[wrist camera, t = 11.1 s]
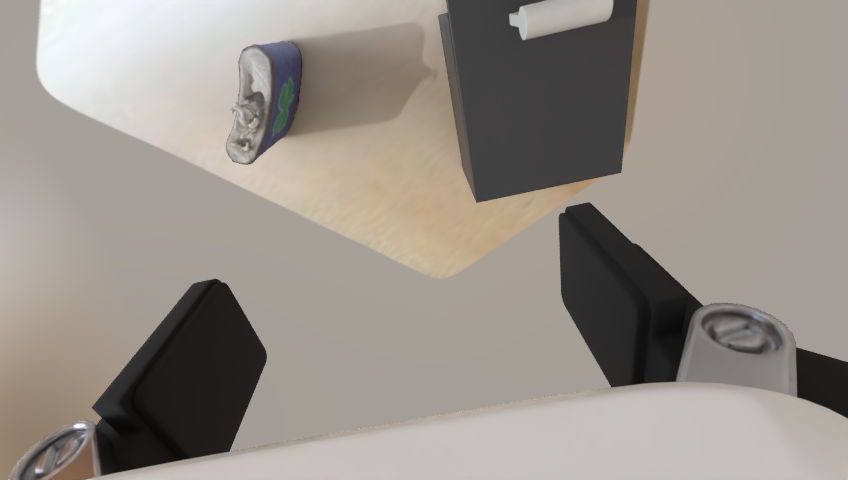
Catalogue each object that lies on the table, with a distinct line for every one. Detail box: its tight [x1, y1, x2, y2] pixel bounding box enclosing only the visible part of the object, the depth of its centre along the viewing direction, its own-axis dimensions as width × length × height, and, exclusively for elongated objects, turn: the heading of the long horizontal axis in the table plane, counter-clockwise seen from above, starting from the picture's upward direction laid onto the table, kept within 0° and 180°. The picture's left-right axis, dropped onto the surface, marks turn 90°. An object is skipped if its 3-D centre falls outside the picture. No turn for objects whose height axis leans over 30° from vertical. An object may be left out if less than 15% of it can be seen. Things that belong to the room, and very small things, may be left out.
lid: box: [446, 0, 637, 203], centre depth 27 cm, size 15×13×5 cm
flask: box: [226, 41, 302, 165], centre depth 32 cm, size 9×3×11 cm, turn 159°
